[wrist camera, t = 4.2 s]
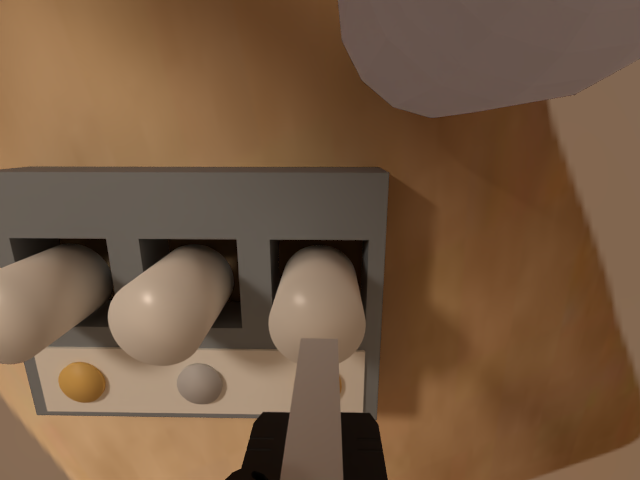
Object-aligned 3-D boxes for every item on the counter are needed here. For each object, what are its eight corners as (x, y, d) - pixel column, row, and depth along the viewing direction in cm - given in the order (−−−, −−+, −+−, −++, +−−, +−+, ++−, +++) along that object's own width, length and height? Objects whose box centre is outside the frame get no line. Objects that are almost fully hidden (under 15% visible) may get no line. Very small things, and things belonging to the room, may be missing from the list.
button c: (283, 313, 25) (270, 367, 19) (281, 244, 23) (266, 279, 17) (355, 313, 24) (364, 368, 19) (357, 244, 23) (367, 280, 17)
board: (74, 379, 30) (31, 420, 25) (30, 166, 25) (-32, 172, 21) (370, 382, 29) (377, 425, 25) (379, 167, 25) (390, 173, 20)
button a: (48, 311, 25) (-37, 363, 19) (33, 242, 24) (-63, 277, 18) (118, 311, 25) (54, 364, 19) (107, 243, 23) (35, 278, 18)
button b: (165, 312, 25) (115, 365, 19) (156, 243, 23) (100, 278, 18) (236, 312, 25) (208, 366, 19) (231, 244, 23) (200, 279, 18)
